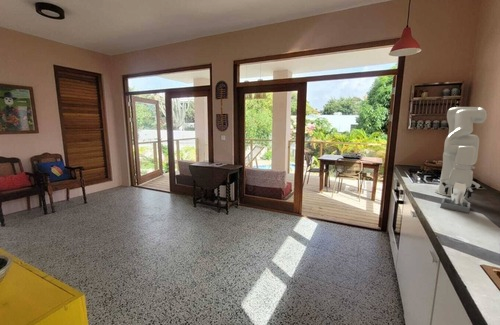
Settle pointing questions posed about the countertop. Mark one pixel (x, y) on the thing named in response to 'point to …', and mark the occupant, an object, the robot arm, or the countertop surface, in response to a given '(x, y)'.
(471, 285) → the countertop surface
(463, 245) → the countertop surface
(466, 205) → the tray
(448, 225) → the countertop surface
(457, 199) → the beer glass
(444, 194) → the robot arm
